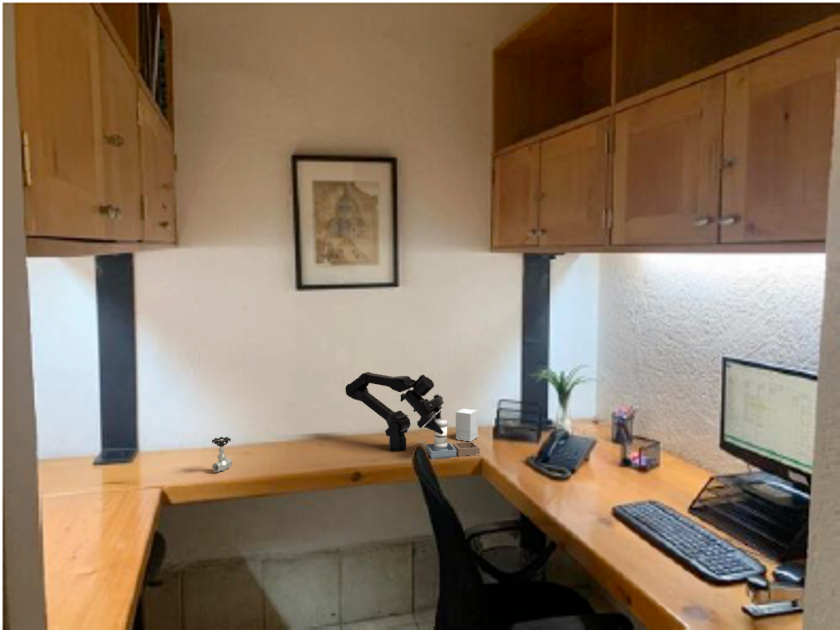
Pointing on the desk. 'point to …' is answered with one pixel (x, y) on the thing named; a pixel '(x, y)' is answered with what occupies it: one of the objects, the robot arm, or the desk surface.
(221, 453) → the valve
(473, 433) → the supplement box
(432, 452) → the parts tray
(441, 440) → the cartridge fuse
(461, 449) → the brown square tray
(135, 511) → the desk surface
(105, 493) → the desk surface
